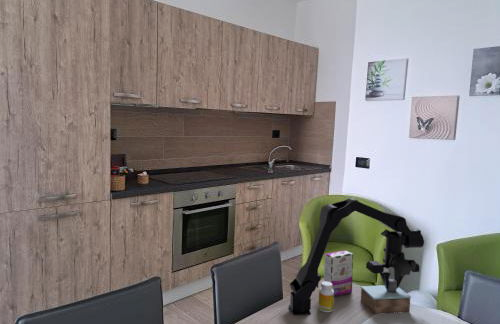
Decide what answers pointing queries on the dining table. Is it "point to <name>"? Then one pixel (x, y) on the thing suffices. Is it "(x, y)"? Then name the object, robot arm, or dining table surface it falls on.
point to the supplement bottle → (326, 297)
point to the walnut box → (385, 304)
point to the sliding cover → (385, 291)
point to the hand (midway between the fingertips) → (391, 288)
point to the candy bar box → (339, 271)
